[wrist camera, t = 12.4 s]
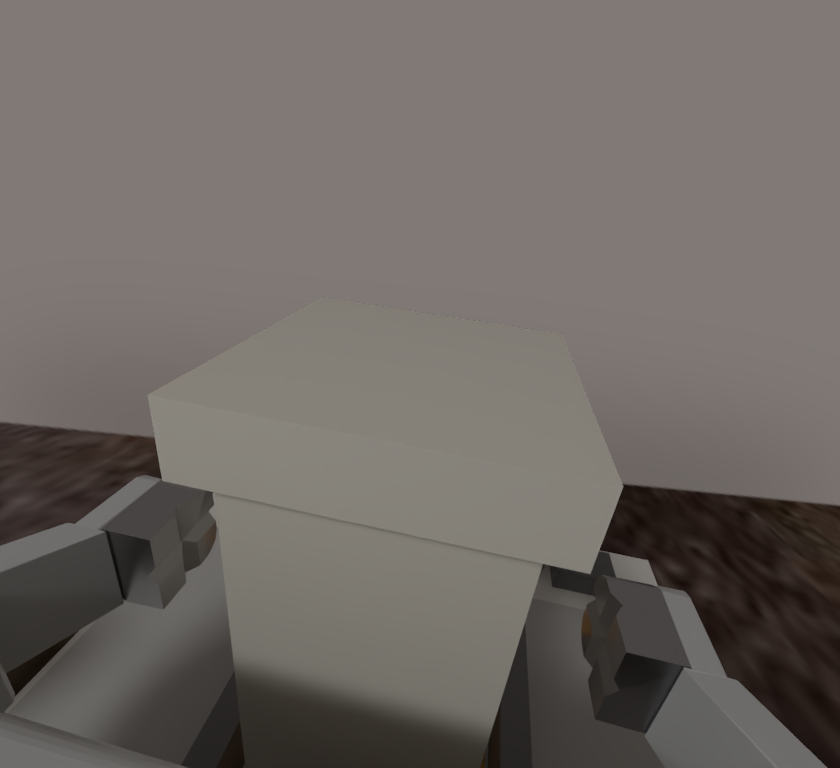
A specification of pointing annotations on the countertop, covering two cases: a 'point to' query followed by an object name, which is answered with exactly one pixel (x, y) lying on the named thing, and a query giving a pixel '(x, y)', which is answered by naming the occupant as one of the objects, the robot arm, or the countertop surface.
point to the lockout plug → (385, 521)
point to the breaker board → (217, 695)
